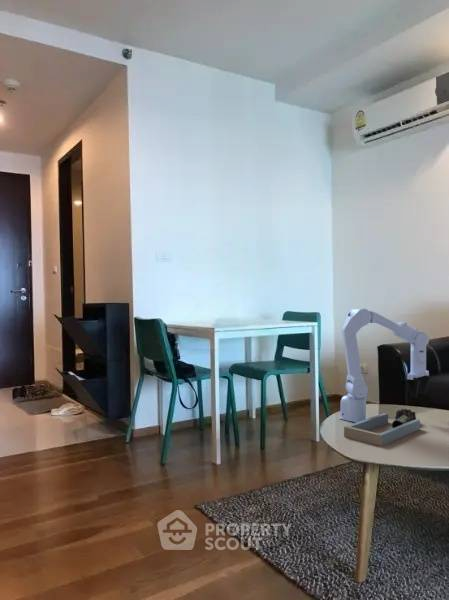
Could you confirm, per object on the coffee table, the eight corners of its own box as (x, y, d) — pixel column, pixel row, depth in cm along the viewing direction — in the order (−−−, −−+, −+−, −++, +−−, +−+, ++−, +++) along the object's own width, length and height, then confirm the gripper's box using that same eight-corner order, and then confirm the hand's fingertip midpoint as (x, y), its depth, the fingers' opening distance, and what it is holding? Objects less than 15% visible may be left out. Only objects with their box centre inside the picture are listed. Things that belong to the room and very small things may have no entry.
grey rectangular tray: (344, 436, 164) (344, 426, 164) (384, 421, 183) (384, 412, 183) (380, 446, 154) (380, 435, 154) (419, 429, 173) (419, 420, 173)
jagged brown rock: (405, 433, 169) (405, 418, 168) (386, 430, 173) (386, 415, 172) (418, 422, 183) (418, 408, 183) (400, 420, 187) (400, 406, 187)
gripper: (419, 364, 179) (419, 399, 179) (436, 360, 189) (436, 394, 189) (402, 362, 184) (402, 397, 184) (419, 358, 194) (419, 391, 194)
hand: (418, 395), depth 187 cm, fingers open, 7 cm apart
